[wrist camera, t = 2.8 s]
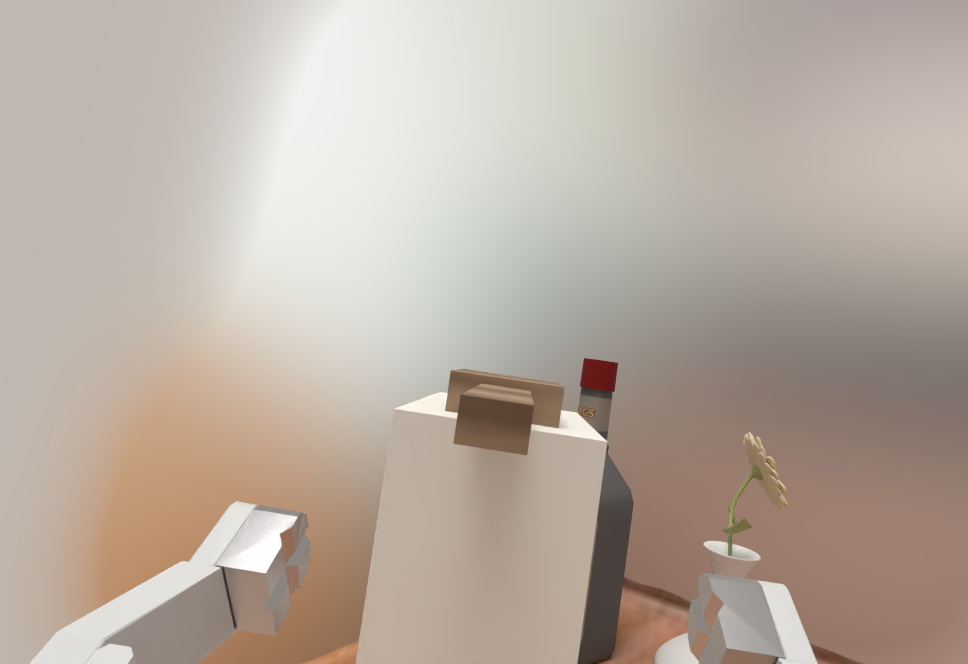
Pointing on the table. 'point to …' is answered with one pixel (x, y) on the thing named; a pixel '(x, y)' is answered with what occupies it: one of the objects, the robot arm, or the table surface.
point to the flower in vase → (728, 558)
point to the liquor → (604, 523)
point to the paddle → (501, 409)
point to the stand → (481, 544)
